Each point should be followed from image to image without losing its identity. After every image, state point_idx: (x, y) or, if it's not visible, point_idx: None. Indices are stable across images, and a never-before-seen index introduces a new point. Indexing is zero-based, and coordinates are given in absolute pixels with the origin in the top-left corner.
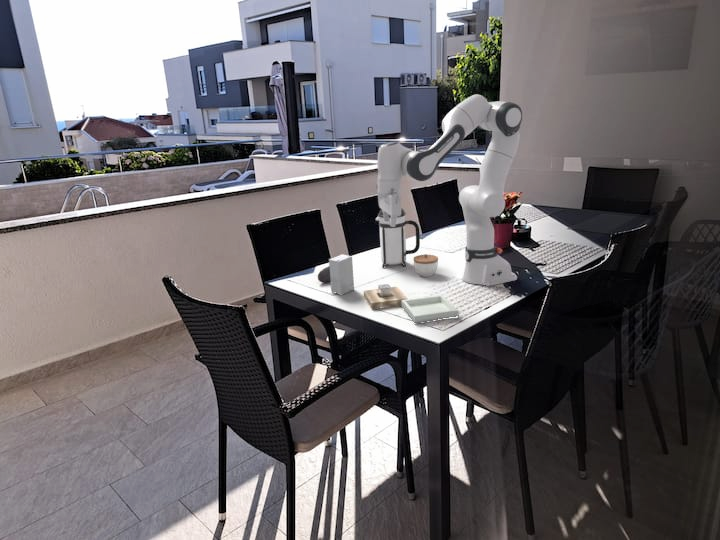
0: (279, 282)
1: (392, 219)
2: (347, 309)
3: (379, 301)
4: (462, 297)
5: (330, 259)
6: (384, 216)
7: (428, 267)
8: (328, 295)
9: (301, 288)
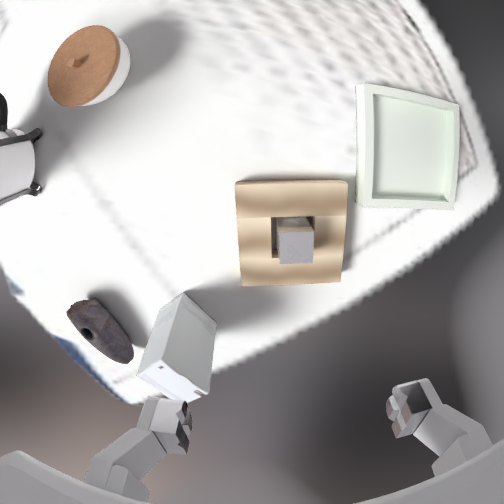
0: (126, 394)
1: (451, 440)
2: (312, 320)
3: (338, 261)
4: (336, 26)
5: None
6: (163, 455)
7: (125, 60)
8: None
9: None
